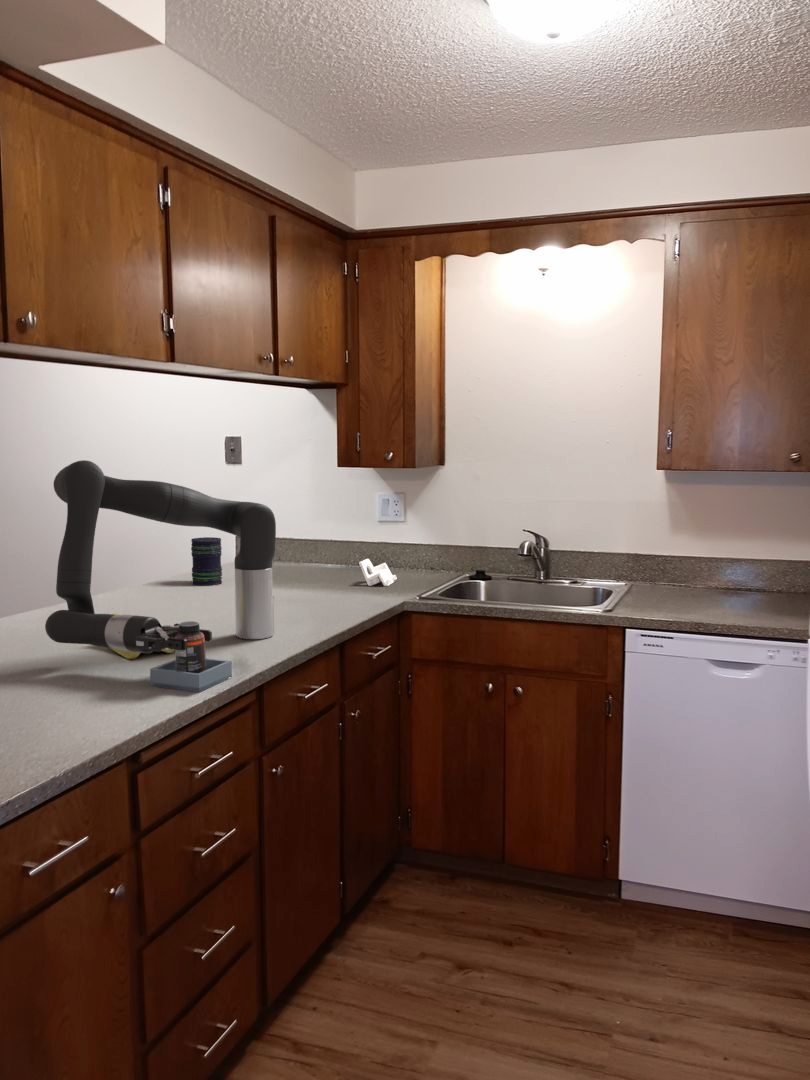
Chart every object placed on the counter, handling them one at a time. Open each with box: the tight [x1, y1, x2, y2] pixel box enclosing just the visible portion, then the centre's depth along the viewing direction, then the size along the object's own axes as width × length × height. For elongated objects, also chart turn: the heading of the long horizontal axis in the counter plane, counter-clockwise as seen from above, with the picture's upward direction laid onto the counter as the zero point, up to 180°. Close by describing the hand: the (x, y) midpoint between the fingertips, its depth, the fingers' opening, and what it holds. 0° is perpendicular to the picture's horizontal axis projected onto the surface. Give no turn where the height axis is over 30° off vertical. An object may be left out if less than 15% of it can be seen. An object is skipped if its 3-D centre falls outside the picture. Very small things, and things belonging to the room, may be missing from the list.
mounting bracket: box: [358, 558, 398, 587], centre depth 305 cm, size 12×6×11 cm, turn 165°
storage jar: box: [191, 536, 223, 587], centre depth 303 cm, size 10×10×15 cm
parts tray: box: [149, 657, 233, 693], centre depth 186 cm, size 12×12×4 cm
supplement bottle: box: [174, 620, 207, 673], centre depth 185 cm, size 6×6×11 cm
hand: (198, 640), depth 184 cm, fingers open, 8 cm apart
